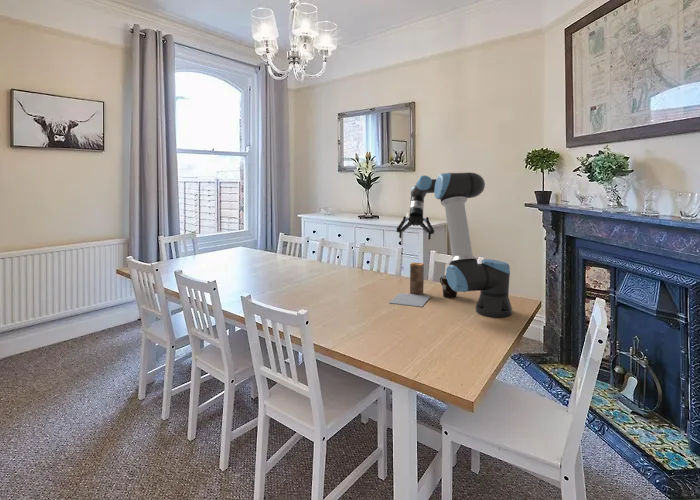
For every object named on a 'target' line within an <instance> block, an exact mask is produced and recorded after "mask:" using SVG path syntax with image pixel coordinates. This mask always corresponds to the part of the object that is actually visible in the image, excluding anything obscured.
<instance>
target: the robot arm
mask: <svg viewBox="0 0 700 500" xmlns="http://www.w3.org/2000/svg"><path fill="white" fill-rule="evenodd" d="M485 185H486V182H485V180H484V177H482V176H481V174H479V173H475V172H446V173H445V172H444V173H443V172H442V173H440V174H439V175H438V176H437V178H431V177H430V176H428V175H421V176H420V177H419V178H418V180H417V181H416V183H415V185H413V186H412V187H411V191H410V203H409V216H408V217H406V216H405V215H403V219H402V221H401V222H400V223H399V224H398V226H397V228H396V233H398V234H399V239H400V245H403V242H404V241H403V240H404V232H405V231H406V230H408V228H410V227H411V226H416V227H418V226H420V227H421V228H422V229H423V230H424V232H426V247H427V246H429V240H431V235H434V234H435V229H434V228H433V226H432V224H431V222H430V221H429V217H428V216H426V217H424V207H425V206H424V204H425V203H424V202H425V200H424V199H425V197H426V195H427V194H434V197H435V199H437V200H440V205H442V206H443V207H444V209H445V215H446V223H447V230H448V237H449V243H450V250H451V251H450V252H451V256H452V259H450V261H449V265H447V267H446V269H445V272H446V273H445V275H446V278H447V281H448V284H449V286H450V287H451V289H452V290H454V291H456V292H457V293H460V292H461V293H466V292H477V291H478V292H479V291H480V294H479V297H478V300H477V302H476V305H475V312H476V313H477V314H479V315H482V316H483V317H490V318H506V317H510V316H511V315H512V312H513V308H512V304H511V300H510V297H509V289H510V275H511V267H510V264H509V263H507V262H505V261H501V260H496V259H490V258H489V259H488V258H487V259H486V258H483V259H482V260H481V263H479V262H478V258H477V257H475V255H473V249H472V243H471V237H470V230H469V225H468V219H467V211H466V210H467V209H466V205H465V204H466V202H467V201H468V199H472V198H476V197H478V196H480V195H481V194H482V193H483V192H484V190H485V187H486V186H485ZM407 221H408V222H407ZM406 222H407V223H406ZM424 222H425V223H426V224H425V223H424ZM405 223H406V224H405ZM426 225H427V226H426Z"/></svg>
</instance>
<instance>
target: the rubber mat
mask: <svg viewBox="0 0 700 500" xmlns="http://www.w3.org/2000/svg"><path fill="white" fill-rule="evenodd" d="M431 297H432V296H431V295H424V294H422V295H416V294H410V293H407V292H406V293H404V292H400V293H399V294H397V295H396V296H395V297H394V298H393V299H391V300H390V301H389V304H393V305H401V306H402V305H403V306H408V307H416V308H417V307H419V308H423V307H424V305H426V303H427V302H428V301H429V300H430V299H431Z"/></svg>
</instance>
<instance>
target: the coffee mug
mask: <svg viewBox="0 0 700 500" xmlns="http://www.w3.org/2000/svg"><path fill="white" fill-rule="evenodd" d="M439 282H440V284H441V287H442V295H443V296H442V297H443V298H445V299H456V298H457V296H458V292H456V291H454V290H452V289H451V287H450V286H449V284H448V281H447V278H446V274H444V275H442V276H441V277H440V278H439Z"/></svg>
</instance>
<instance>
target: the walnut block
mask: <svg viewBox="0 0 700 500" xmlns="http://www.w3.org/2000/svg"><path fill="white" fill-rule="evenodd" d="M409 266H410V267H409V277H410V278H409V294H416V295H424V287H425V286H424V281H425V280H424V279H425V277H424V275H425V273H424V271H425V270H424V269H425V268H424V267H425V263H424V262H411V263H410V264H409Z"/></svg>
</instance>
